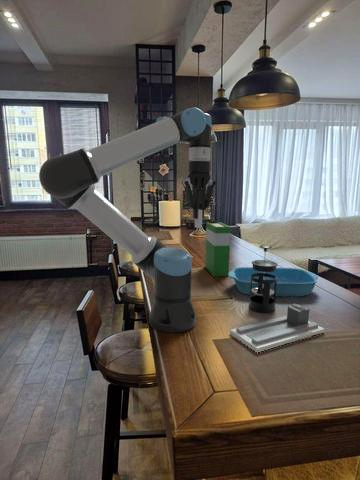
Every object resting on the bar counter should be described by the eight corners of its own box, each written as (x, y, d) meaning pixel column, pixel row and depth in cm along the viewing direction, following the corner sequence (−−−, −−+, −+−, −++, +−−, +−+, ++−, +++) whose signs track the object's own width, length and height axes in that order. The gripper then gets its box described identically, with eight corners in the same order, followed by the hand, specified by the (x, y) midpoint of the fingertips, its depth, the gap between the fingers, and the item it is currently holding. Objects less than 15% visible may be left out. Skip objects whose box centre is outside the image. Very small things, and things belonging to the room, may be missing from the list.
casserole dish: (230, 298, 125) (231, 280, 124) (225, 280, 147) (226, 265, 146) (325, 300, 123) (327, 283, 122) (306, 282, 145) (307, 267, 144)
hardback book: (205, 266, 170) (206, 222, 165) (218, 266, 171) (220, 222, 166) (213, 276, 153) (215, 227, 148) (228, 275, 154) (230, 226, 149)
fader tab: (297, 327, 96) (299, 309, 95) (286, 321, 100) (288, 304, 99) (308, 324, 98) (309, 307, 97) (296, 319, 102) (298, 302, 101)
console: (256, 353, 84) (257, 344, 84) (230, 334, 95) (230, 326, 94) (324, 333, 96) (324, 325, 96) (293, 318, 106) (294, 311, 106)
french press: (246, 302, 120) (249, 242, 116) (271, 302, 120) (275, 243, 116) (251, 314, 109) (255, 249, 105) (279, 315, 108) (284, 250, 104)
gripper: (188, 159, 105) (187, 230, 109) (221, 161, 110) (219, 228, 115) (178, 160, 111) (177, 227, 115) (209, 162, 117) (208, 225, 121)
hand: (198, 227), depth 115 cm, fingers closed
